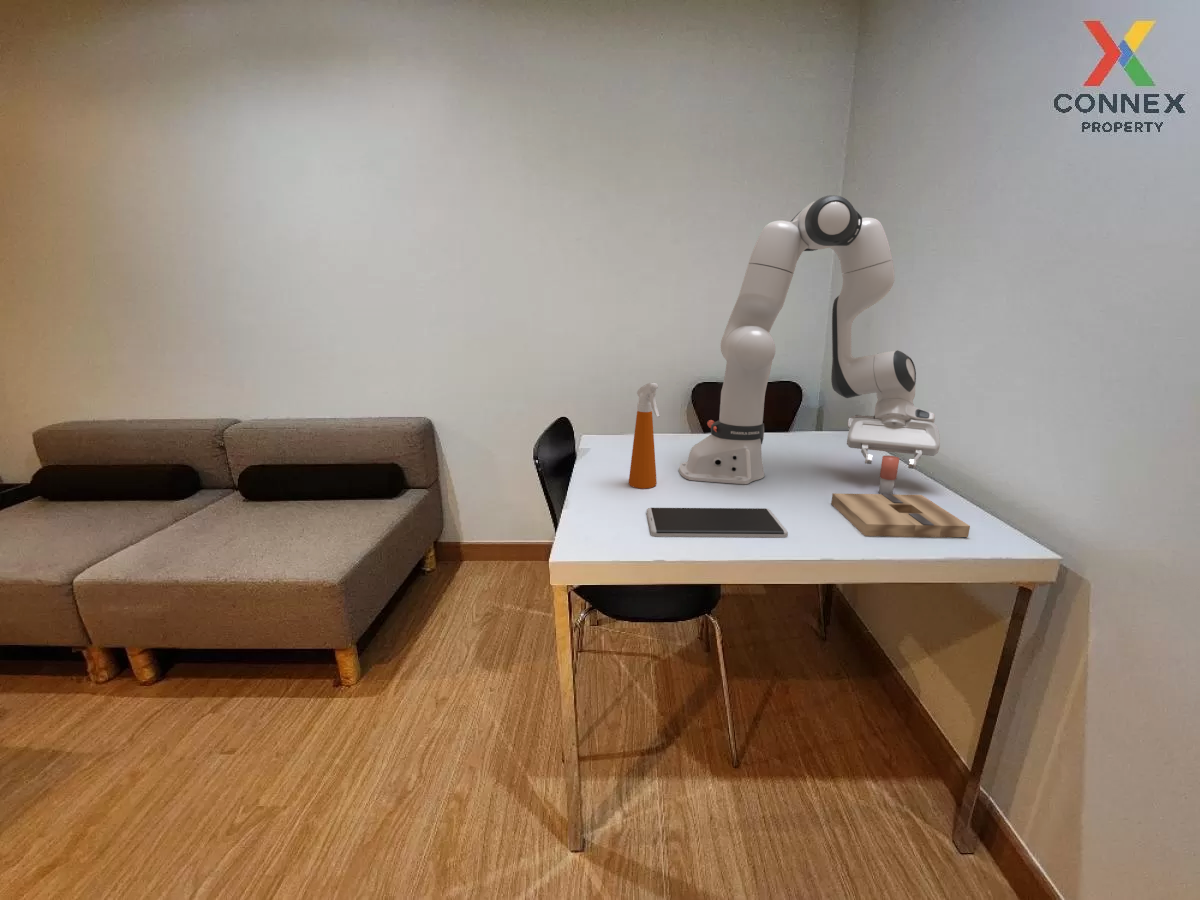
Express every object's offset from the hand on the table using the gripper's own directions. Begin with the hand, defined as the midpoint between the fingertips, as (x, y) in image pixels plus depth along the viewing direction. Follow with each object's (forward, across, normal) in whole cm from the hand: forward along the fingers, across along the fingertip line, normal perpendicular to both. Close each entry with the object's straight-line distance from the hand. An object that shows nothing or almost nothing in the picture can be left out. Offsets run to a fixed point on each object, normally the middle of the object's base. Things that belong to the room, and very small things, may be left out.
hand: (889, 465), depth 133 cm
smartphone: (+32, -33, -22) cm, 51 cm away
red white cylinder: (+6, 0, +4) cm, 7 cm away
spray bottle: (+20, -54, -11) cm, 59 cm away
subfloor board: (+18, +1, -9) cm, 21 cm away
